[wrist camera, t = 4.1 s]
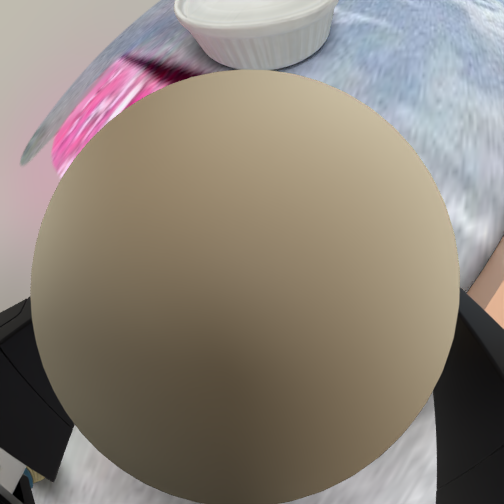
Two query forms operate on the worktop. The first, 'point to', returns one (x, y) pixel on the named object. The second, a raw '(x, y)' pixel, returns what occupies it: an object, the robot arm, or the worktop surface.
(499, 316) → the tray
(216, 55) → the ramekin
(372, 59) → the worktop surface
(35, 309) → the vase
